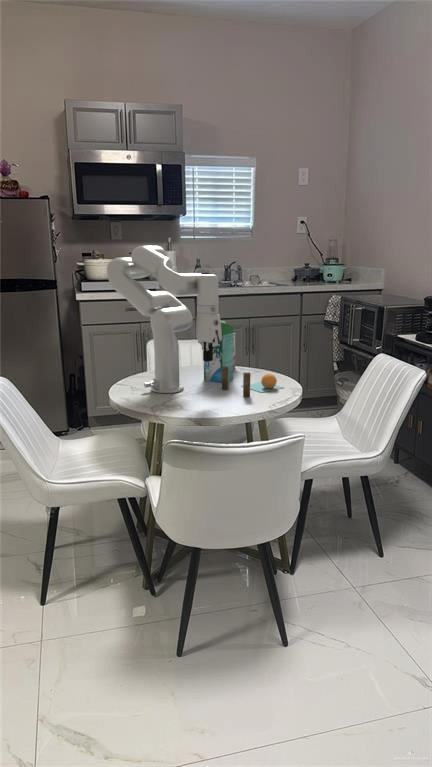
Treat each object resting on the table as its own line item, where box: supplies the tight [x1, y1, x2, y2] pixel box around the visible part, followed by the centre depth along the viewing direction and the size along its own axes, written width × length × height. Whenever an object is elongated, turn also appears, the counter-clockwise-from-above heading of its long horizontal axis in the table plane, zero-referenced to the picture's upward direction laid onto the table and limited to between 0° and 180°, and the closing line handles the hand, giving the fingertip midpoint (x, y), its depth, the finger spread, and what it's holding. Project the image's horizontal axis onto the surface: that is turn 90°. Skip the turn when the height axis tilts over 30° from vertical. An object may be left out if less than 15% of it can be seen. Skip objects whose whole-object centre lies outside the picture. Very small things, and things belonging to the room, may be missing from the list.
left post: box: [221, 366, 229, 391], centre depth 205 cm, size 3×3×9 cm
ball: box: [260, 373, 278, 389], centre depth 207 cm, size 6×6×6 cm
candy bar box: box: [233, 332, 236, 371], centre depth 237 cm, size 11×5×16 cm, turn 168°
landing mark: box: [241, 381, 285, 393], centre depth 210 cm, size 12×12×1 cm
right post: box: [242, 371, 251, 398], centre depth 195 cm, size 3×3×9 cm
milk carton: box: [203, 320, 234, 384], centre depth 219 cm, size 9×9×25 cm
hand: (207, 360), depth 190 cm, fingers closed
